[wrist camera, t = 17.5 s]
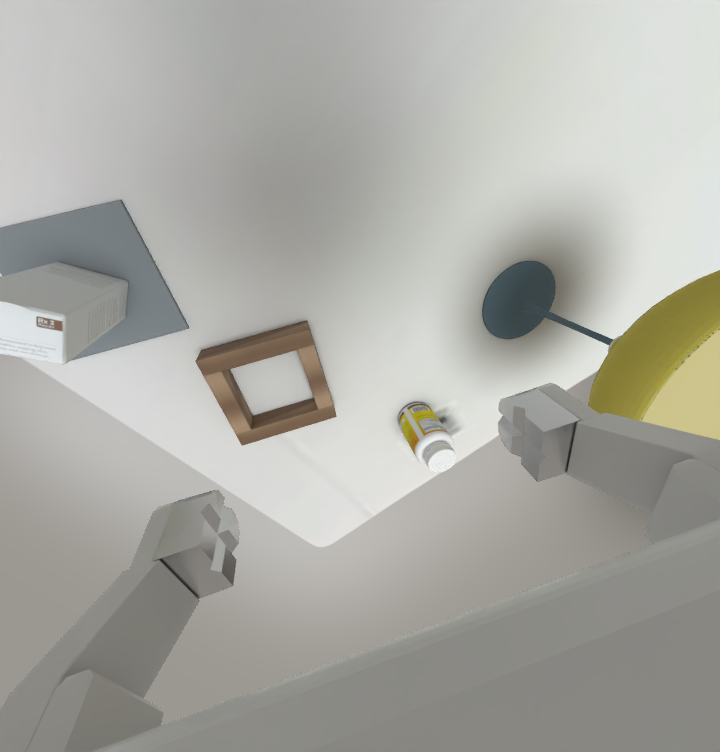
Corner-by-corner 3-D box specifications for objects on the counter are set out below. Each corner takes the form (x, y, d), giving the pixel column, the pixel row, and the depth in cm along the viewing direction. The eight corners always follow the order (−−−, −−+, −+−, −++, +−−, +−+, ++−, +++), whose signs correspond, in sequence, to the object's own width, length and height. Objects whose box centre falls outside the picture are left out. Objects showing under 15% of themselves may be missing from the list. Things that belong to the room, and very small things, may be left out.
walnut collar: (201, 350, 38) (195, 361, 35) (307, 320, 39) (309, 329, 36) (244, 431, 44) (242, 445, 42) (333, 404, 45) (336, 416, 43)
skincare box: (58, 302, 32) (-48, 351, 22) (57, 257, 30) (-59, 288, 20) (130, 318, 34) (64, 371, 24) (132, 278, 32) (62, 315, 22)
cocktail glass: (437, 350, 45) (579, 488, 24) (494, 211, 37) (779, 229, 16) (536, 368, 50) (722, 493, 29) (602, 251, 43) (921, 303, 21)
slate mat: (-26, 234, 28) (-30, 235, 28) (121, 199, 29) (119, 199, 29) (72, 359, 35) (70, 360, 35) (189, 327, 36) (188, 328, 36)
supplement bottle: (409, 435, 52) (435, 483, 43) (390, 416, 49) (414, 463, 40) (437, 414, 51) (469, 459, 42) (419, 394, 48) (449, 437, 39)
